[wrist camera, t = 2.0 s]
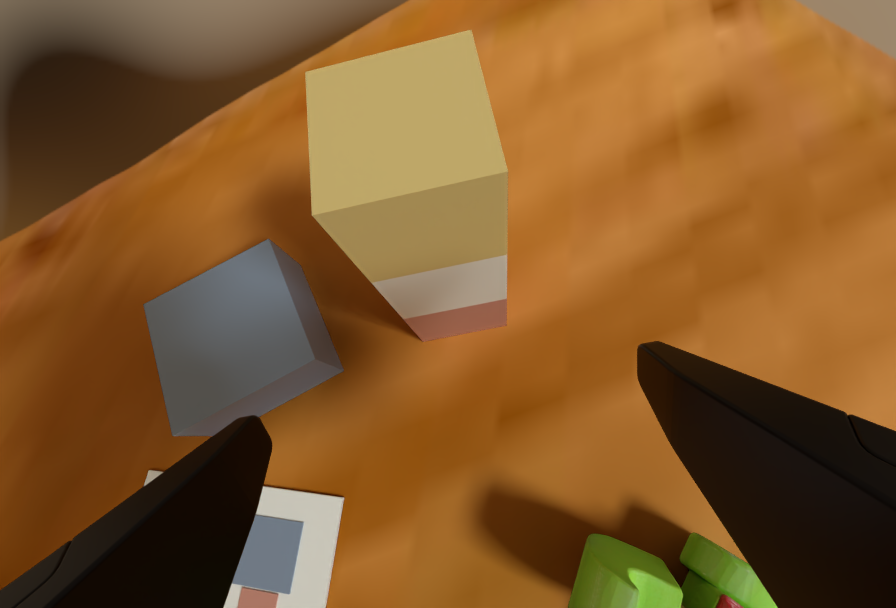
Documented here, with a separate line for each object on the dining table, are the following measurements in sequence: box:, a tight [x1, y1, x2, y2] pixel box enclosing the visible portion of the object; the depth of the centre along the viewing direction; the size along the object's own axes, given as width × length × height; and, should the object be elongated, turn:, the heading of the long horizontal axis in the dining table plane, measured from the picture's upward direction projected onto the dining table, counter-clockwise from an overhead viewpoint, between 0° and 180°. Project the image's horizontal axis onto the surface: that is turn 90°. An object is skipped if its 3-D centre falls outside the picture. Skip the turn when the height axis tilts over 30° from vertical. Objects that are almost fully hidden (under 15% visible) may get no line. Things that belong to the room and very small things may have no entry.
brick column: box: [305, 30, 508, 342], centre depth 17 cm, size 5×5×14 cm
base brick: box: [143, 239, 344, 436], centre depth 23 cm, size 8×8×4 cm
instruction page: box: [144, 470, 344, 608], centre depth 20 cm, size 12×9×1 cm
